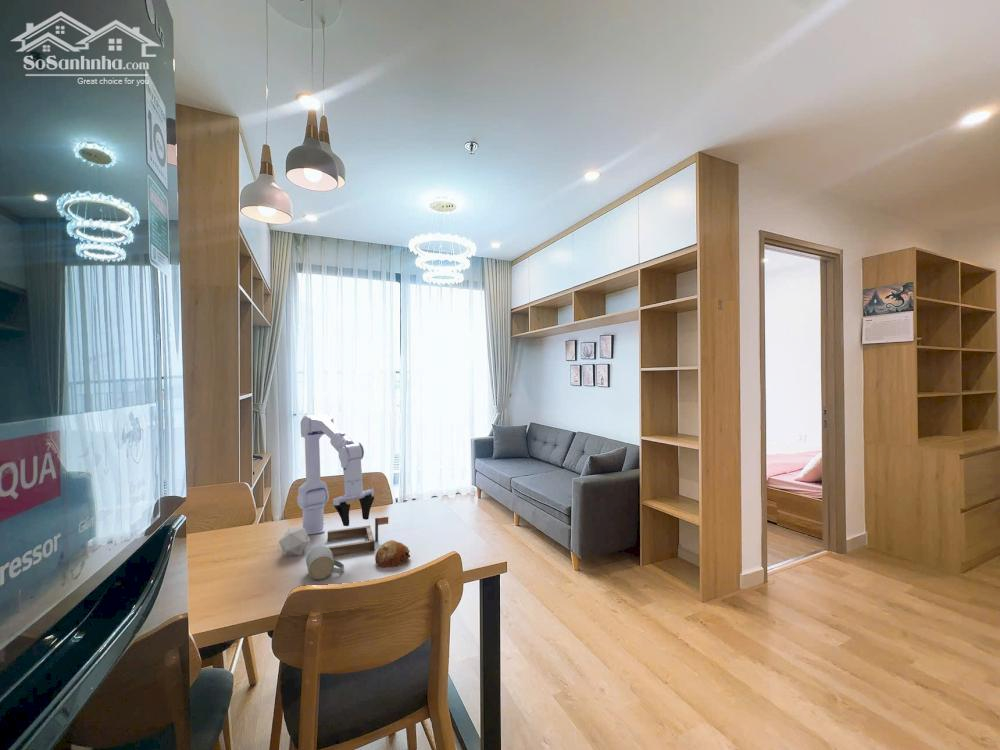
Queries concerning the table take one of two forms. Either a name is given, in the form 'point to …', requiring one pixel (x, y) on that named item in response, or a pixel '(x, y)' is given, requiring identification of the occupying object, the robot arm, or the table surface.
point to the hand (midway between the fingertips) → (356, 522)
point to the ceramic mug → (322, 563)
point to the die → (294, 541)
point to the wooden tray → (355, 532)
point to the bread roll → (392, 554)
